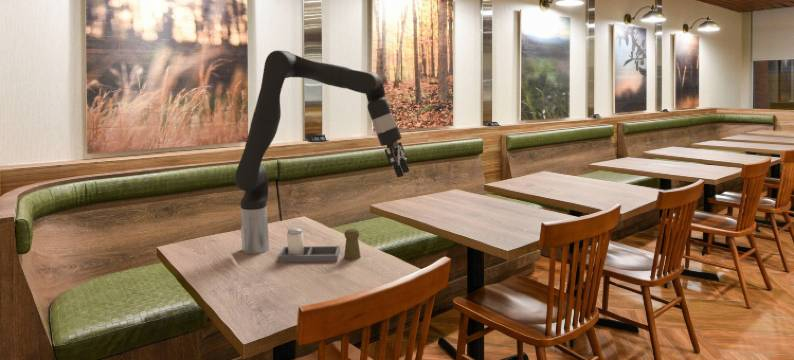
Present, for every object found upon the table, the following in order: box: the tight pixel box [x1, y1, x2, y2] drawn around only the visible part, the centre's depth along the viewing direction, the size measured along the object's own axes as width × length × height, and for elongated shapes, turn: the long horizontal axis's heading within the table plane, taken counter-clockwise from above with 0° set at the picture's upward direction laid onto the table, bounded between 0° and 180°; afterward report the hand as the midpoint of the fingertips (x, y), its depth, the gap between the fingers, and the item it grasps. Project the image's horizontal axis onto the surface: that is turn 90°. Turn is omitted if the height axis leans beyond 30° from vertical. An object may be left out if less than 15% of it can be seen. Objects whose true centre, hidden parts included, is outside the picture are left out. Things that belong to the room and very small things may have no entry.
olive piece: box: [343, 228, 362, 261], centre depth 194 cm, size 6×6×11 cm
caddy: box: [277, 245, 341, 263], centre depth 195 cm, size 20×11×3 cm, turn 91°
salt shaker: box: [286, 227, 305, 255], centre depth 194 cm, size 6×6×10 cm
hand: (403, 174), depth 184 cm, fingers open, 8 cm apart
